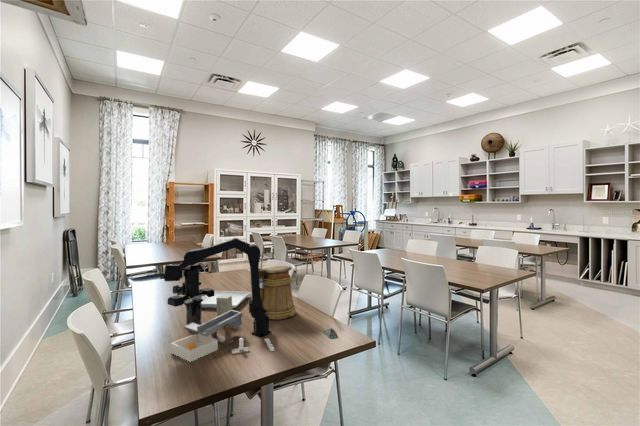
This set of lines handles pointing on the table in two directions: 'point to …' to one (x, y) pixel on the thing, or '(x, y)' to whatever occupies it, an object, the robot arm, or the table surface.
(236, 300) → the square plate
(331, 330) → the game pieces
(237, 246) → the robot arm
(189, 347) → the ball
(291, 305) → the tankard
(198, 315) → the supplement container
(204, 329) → the tipping lever
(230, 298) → the skincare box
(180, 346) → the white open tray
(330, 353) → the table surface
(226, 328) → the pivot stand
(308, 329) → the table surface
